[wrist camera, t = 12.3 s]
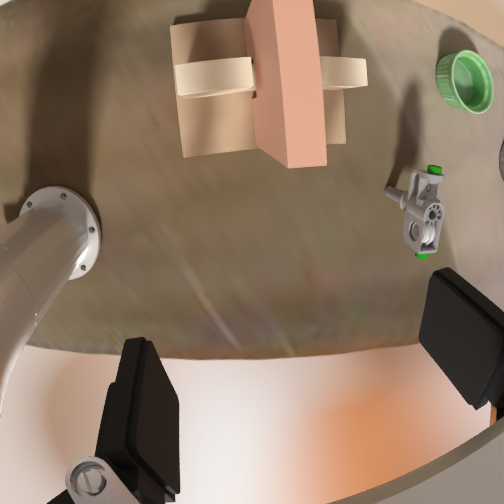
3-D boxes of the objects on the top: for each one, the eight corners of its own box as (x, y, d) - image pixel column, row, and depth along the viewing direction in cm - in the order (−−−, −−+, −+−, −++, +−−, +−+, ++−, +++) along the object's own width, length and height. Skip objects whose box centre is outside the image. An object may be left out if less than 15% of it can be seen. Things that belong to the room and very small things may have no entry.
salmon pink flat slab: (243, 22, 26) (266, -39, 12) (267, 21, 26) (306, -37, 13) (255, 144, 32) (287, 168, 18) (278, 142, 32) (326, 165, 19)
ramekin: (424, 53, 30) (444, 50, 26) (465, 50, 30) (485, 49, 26) (440, 115, 34) (460, 118, 30) (478, 107, 33) (498, 110, 29)
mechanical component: (401, 153, 36) (450, 169, 27) (394, 227, 40) (435, 258, 31) (382, 151, 35) (430, 167, 26) (376, 228, 40) (416, 261, 31)
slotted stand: (184, 155, 33) (174, 170, 24) (171, 29, 27) (157, 1, 18) (340, 142, 34) (379, 153, 26) (331, 22, 28) (367, 0, 19)
